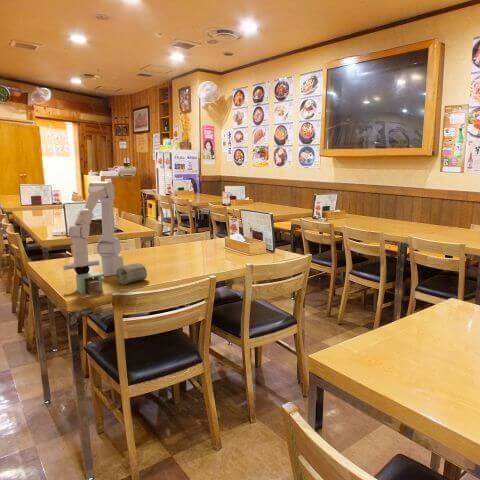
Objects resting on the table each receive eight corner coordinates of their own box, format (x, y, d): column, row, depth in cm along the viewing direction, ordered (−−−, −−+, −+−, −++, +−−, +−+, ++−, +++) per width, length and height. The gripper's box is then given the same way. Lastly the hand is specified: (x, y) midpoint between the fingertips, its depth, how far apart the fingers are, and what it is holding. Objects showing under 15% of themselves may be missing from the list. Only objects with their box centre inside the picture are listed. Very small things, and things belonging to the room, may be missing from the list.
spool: (122, 280, 170) (121, 258, 173) (112, 286, 176) (112, 265, 180) (151, 282, 179) (150, 261, 182) (141, 288, 185) (140, 267, 189)
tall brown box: (88, 286, 174) (88, 275, 173) (99, 293, 163) (98, 281, 163) (81, 287, 172) (80, 276, 171) (91, 295, 161) (90, 282, 161)
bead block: (97, 287, 172) (96, 271, 171) (102, 290, 167) (101, 274, 166) (77, 291, 167) (75, 275, 166) (81, 294, 162) (80, 277, 161)
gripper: (65, 256, 164) (67, 289, 166) (101, 252, 173) (103, 282, 175) (60, 253, 170) (63, 285, 172) (95, 249, 178) (97, 279, 181)
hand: (82, 283), depth 174 cm, fingers closed, pressing on tall brown box
